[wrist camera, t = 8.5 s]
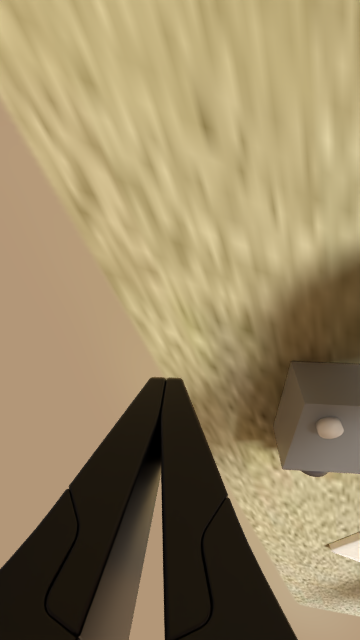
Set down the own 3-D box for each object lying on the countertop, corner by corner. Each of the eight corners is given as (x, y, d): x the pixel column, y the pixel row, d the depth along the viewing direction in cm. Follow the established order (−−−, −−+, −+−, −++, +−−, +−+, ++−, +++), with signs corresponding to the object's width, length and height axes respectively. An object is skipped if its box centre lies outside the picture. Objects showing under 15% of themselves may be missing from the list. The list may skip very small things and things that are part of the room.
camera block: (428, 366, 23) (472, 418, 19) (382, 440, 28) (409, 492, 25) (290, 361, 23) (307, 411, 20) (270, 434, 29) (280, 484, 25)
